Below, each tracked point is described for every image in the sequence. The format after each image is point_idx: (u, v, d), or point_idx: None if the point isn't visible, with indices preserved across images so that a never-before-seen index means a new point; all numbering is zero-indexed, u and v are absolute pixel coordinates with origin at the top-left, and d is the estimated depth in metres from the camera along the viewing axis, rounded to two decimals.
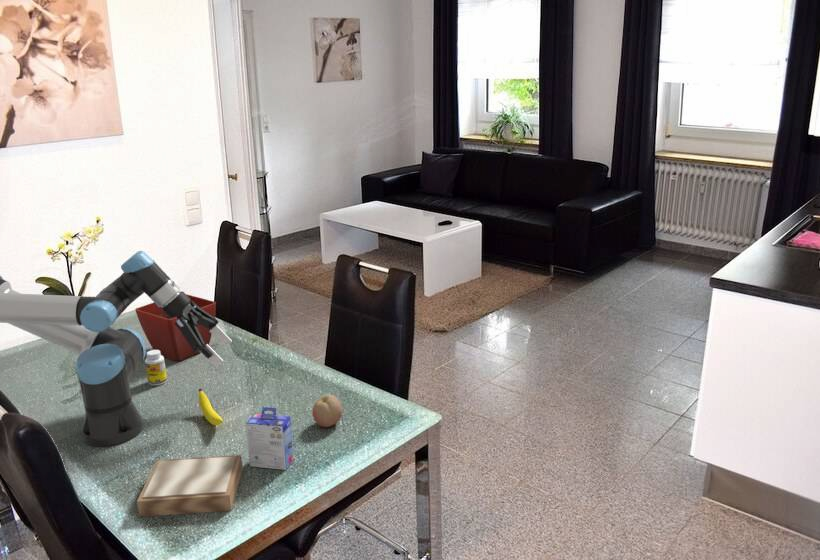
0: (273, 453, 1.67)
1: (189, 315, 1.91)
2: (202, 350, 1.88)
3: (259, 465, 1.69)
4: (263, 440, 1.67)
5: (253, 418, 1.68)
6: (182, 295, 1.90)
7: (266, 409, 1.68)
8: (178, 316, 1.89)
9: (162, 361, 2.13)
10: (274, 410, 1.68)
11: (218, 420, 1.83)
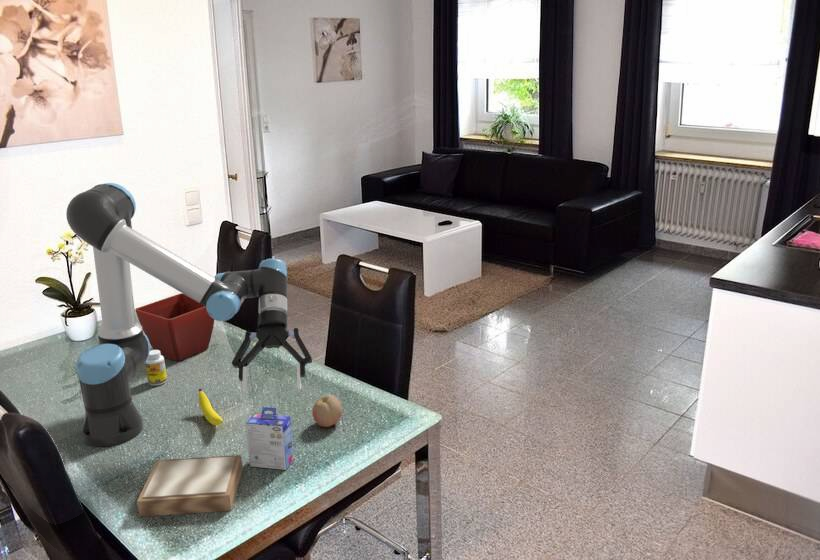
0: (273, 453, 1.67)
1: None
2: None
3: (259, 465, 1.69)
4: (263, 440, 1.67)
5: (253, 418, 1.68)
6: (266, 312, 1.81)
7: (266, 409, 1.68)
8: None
9: (162, 361, 2.13)
10: (274, 410, 1.68)
11: (218, 420, 1.83)
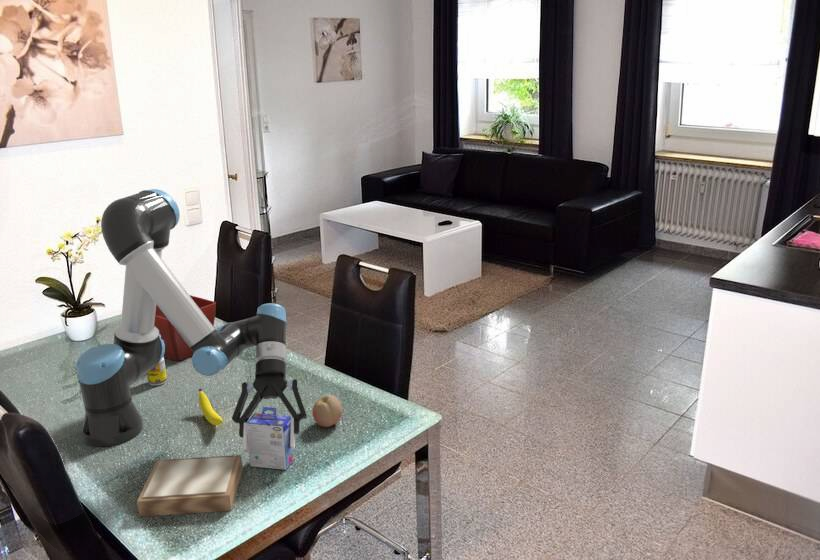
0: (274, 453, 1.67)
1: None
2: None
3: (260, 465, 1.69)
4: (263, 440, 1.67)
5: (253, 418, 1.68)
6: (264, 361, 1.73)
7: (267, 409, 1.68)
8: None
9: (162, 361, 2.13)
10: (274, 410, 1.68)
11: (218, 420, 1.83)
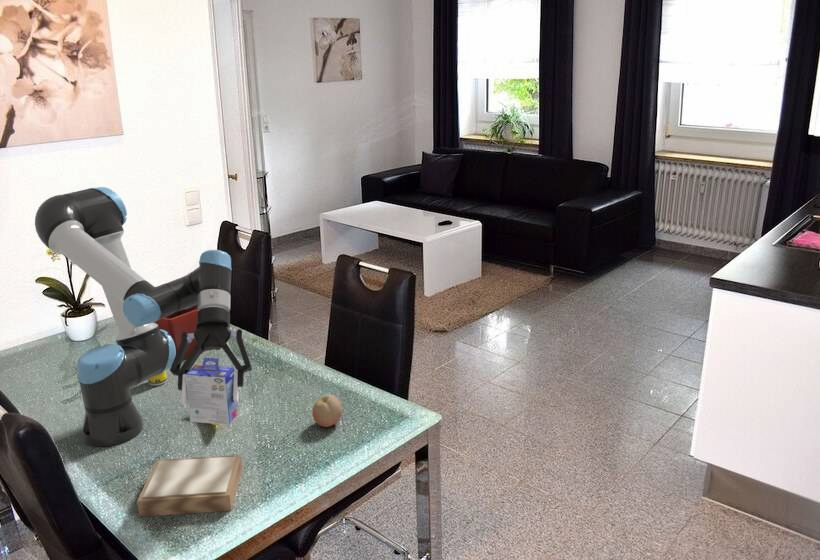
0: (215, 407, 1.56)
1: None
2: None
3: (200, 420, 1.57)
4: (204, 393, 1.55)
5: (193, 370, 1.56)
6: (206, 310, 1.61)
7: (208, 360, 1.56)
8: None
9: None
10: (216, 361, 1.56)
11: None
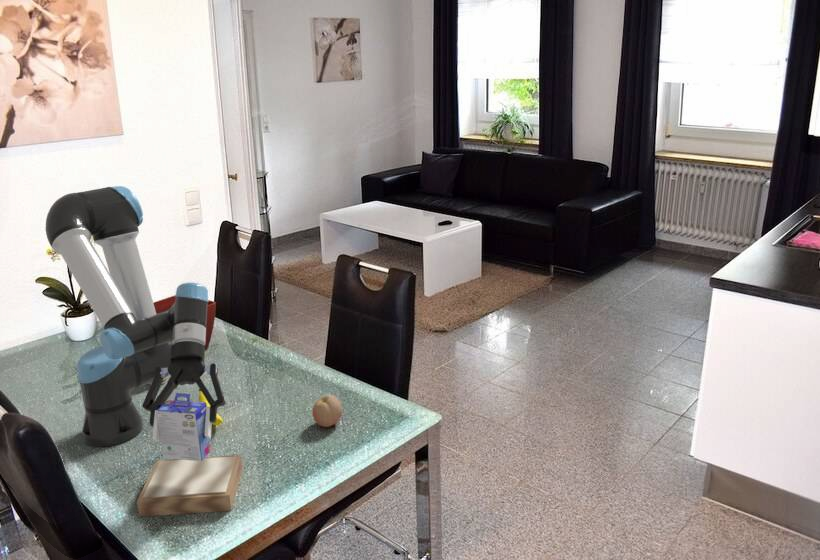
0: (187, 443, 1.54)
1: None
2: None
3: (173, 456, 1.55)
4: (175, 429, 1.53)
5: (165, 405, 1.54)
6: (179, 344, 1.60)
7: (180, 395, 1.55)
8: None
9: None
10: (188, 396, 1.54)
11: (218, 420, 1.83)
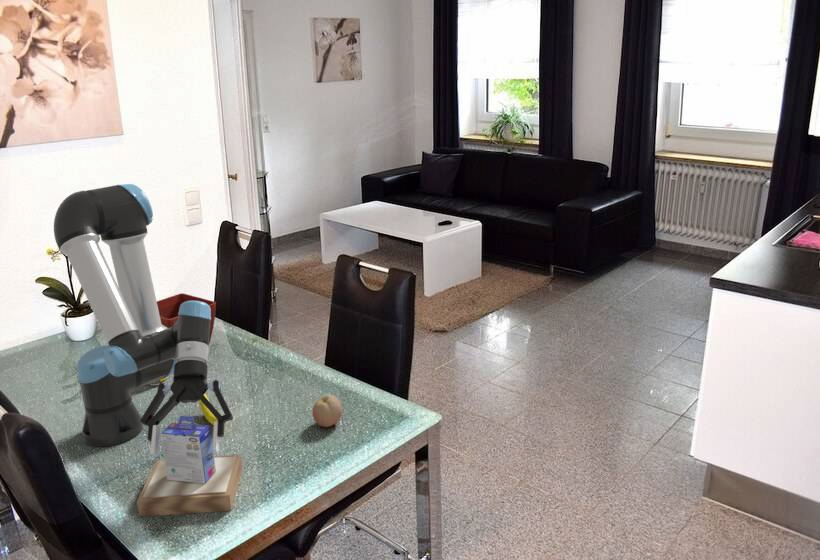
0: (191, 466, 1.56)
1: None
2: None
3: (177, 478, 1.57)
4: (179, 451, 1.55)
5: (169, 428, 1.56)
6: (182, 362, 1.61)
7: (184, 418, 1.57)
8: None
9: None
10: (192, 419, 1.56)
11: None
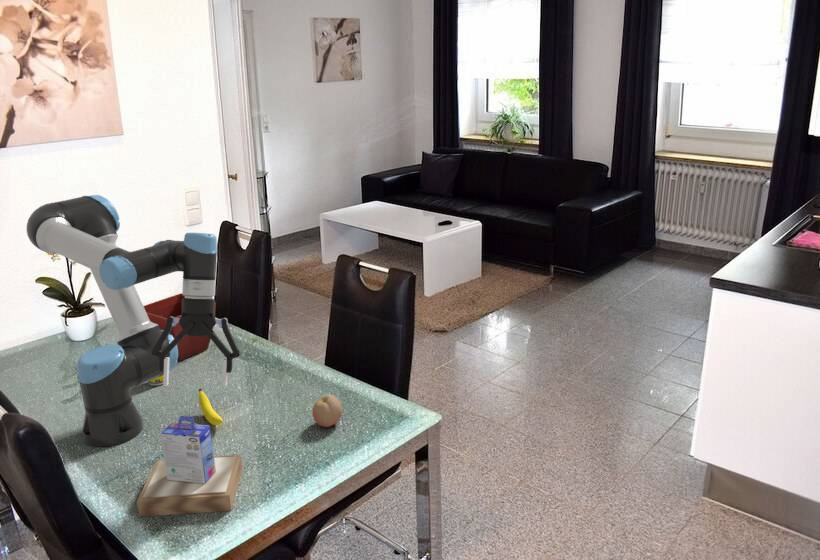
0: (191, 466, 1.56)
1: (187, 324, 1.65)
2: None
3: (177, 478, 1.57)
4: (179, 451, 1.55)
5: (169, 428, 1.56)
6: (191, 302, 1.62)
7: (184, 418, 1.57)
8: None
9: None
10: (192, 419, 1.56)
11: (218, 420, 1.83)
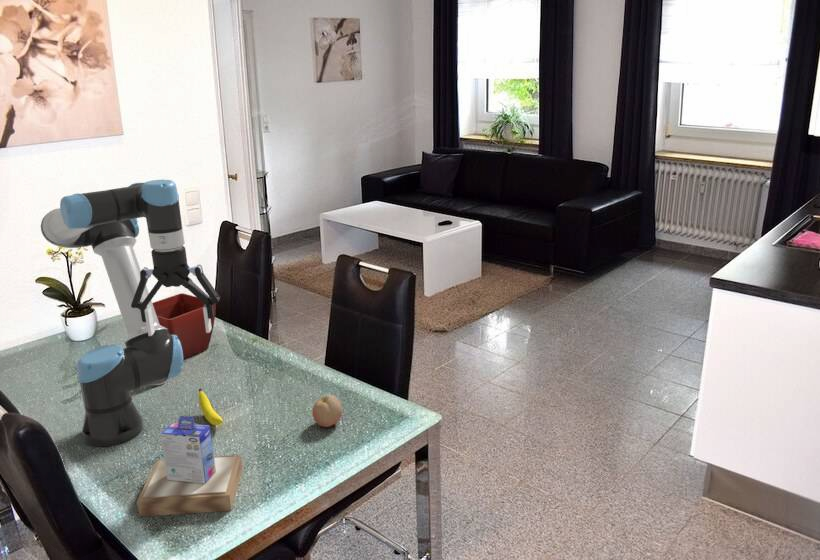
0: (191, 466, 1.56)
1: (161, 276, 1.61)
2: None
3: (177, 478, 1.57)
4: (179, 451, 1.55)
5: (169, 428, 1.56)
6: (159, 256, 1.58)
7: (184, 418, 1.57)
8: None
9: None
10: (192, 419, 1.56)
11: (218, 420, 1.83)
